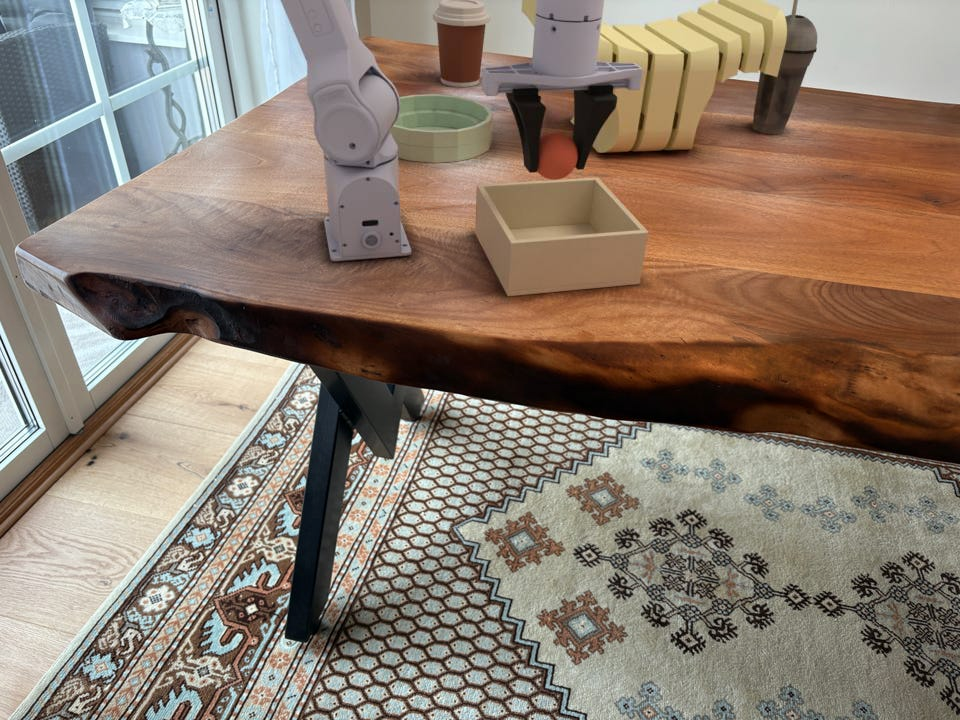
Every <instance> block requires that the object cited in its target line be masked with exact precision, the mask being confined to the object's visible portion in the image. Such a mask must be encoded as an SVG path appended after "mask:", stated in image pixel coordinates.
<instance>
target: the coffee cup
mask: <svg viewBox="0 0 960 720" xmlns="http://www.w3.org/2000/svg"><path fill="white" fill-rule="evenodd" d="M432 20H433V21H434V22H436V29H437V30H436V31H437V46H438V57H439V72H440V83H442V84H443V85H446V86H450V87H455V88H456V87H459V88H464V87H465V88H467V87H473V86H477V85H479V83H480V82H481V81H480V80H481V79H480V77H481V71H482V60H483V50H484V43H485V35H486V27H487V26H486V25H487V24H489V23H490V21H491V14H489V13H488V12H487V10H486V9H485V3H484V2H482V1H480V0H441V1H439V3H438V8H437V9H436V10H434V12H433V13H432Z"/></svg>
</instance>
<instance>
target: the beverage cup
mask: <svg viewBox="0 0 960 720" xmlns="http://www.w3.org/2000/svg"><path fill="white" fill-rule="evenodd" d="M798 3H799V0H793V2H792V9H791V14H788V15H785V18H786V23H787V38H786V44H785V48H784V52H783V56H782V60H781V64H780V68H779V72H778V75H777V77H775V76H772V75H768V74H764V73H763V72H761V71H759V79H758V84H757V91H756V98H755V104H754V110H753V116H752V117H753V120H752V126H751V128H752V129H753V130H754V131H755V132H759V133H761V134H766V135H781V134H783V133H784V132H785V128H786V126H787V123H788V122H789V120H790V117H791V115H792V111H793V108H794V106H795V103H796V100H797V98H798V95H799V93H800V89H801V86H802V85H803V84H802V83H803V81H804V79H805V76H806V73H807V70H808V67H810V65H811V63H812V60H813V58H814V55H815V53H817V49H818V47H817V45H818V32H817V29H816V27H815V25H814V23H813V22H812V21H811V20H810V19H809V18H808V17H806V16H805V15H801V14H797V9H798Z"/></svg>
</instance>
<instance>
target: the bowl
mask: <svg viewBox="0 0 960 720" xmlns="http://www.w3.org/2000/svg"><path fill="white" fill-rule="evenodd" d="M399 98H400V113H399V116H398V119H397V120H396V122H395V123H394V125H393V126H392V127H391V128H390V132H391V134H392V137H393V139H394V141H395V142H396V144H397V146H398V159H401V160H406V161H409V162H419V163H428V164H429V163H431V164H433V163H434V164H438V163H439V164H440V163H455V162H463V161H465V160H470V159H475V158H477V157H479V156H481V155H482V154H484V153H486V152H488V151H489V150H490V148H491V145H492V143H493V127H494V125H493V124H494V122H493V121H494V112H492V109H490V107H489V106H488V105H486V104H484V103H481V102H479V101H477V100H475V99H471V98H466V97H462V96H457V95H448V94H447V95H446V94H438V93H437V94H436V93H432V94H431V93H429V94H410V95H404V96H399Z"/></svg>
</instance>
